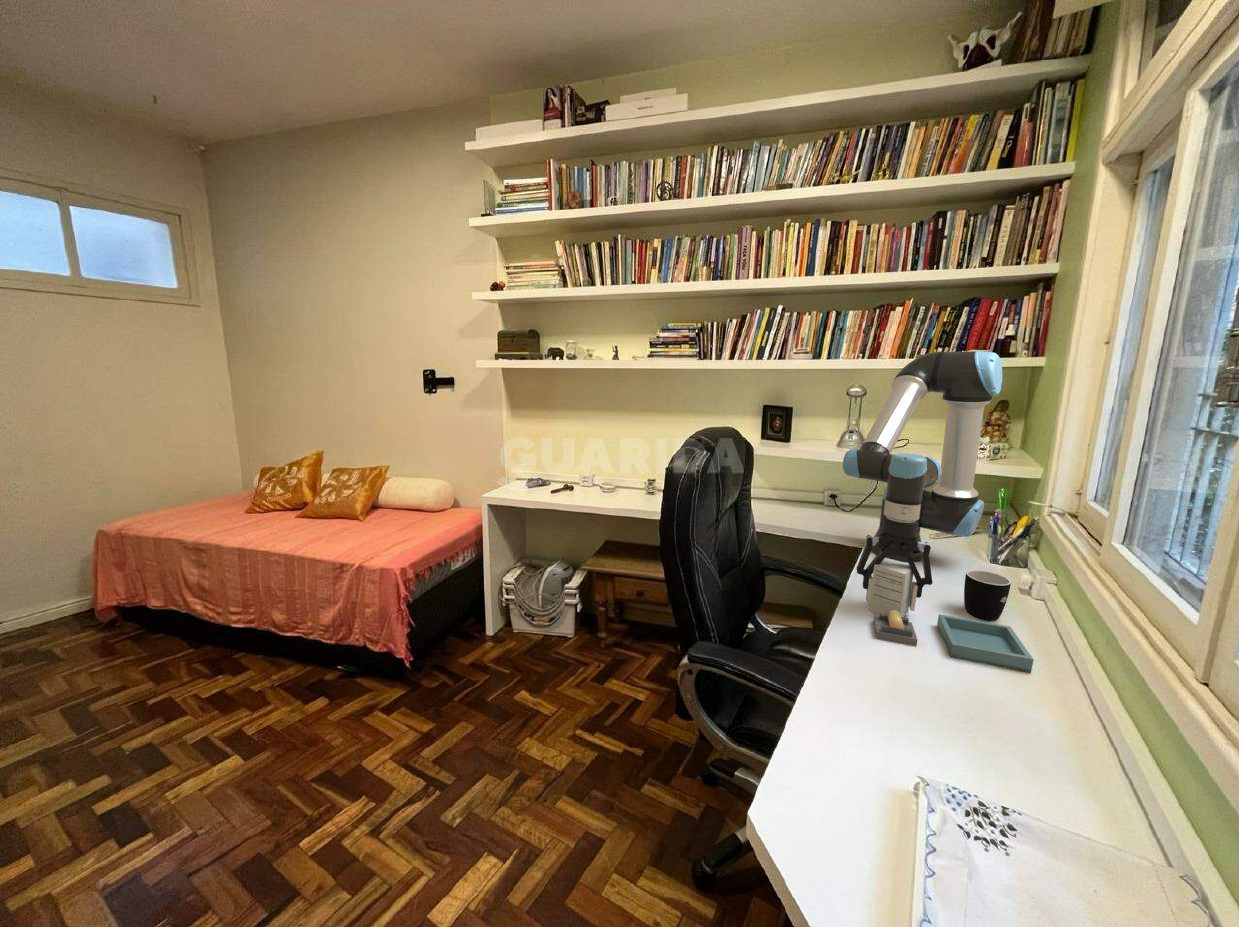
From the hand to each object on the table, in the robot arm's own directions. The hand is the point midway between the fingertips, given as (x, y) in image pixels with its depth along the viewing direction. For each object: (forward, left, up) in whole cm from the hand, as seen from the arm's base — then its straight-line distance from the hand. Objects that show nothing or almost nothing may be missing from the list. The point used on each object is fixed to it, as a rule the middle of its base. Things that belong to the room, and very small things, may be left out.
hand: (889, 604), depth 126 cm
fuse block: (+11, 0, -2) cm, 11 cm away
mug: (-9, +22, -2) cm, 24 cm away
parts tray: (+10, +17, -2) cm, 20 cm away
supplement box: (0, 0, -2) cm, 2 cm away
